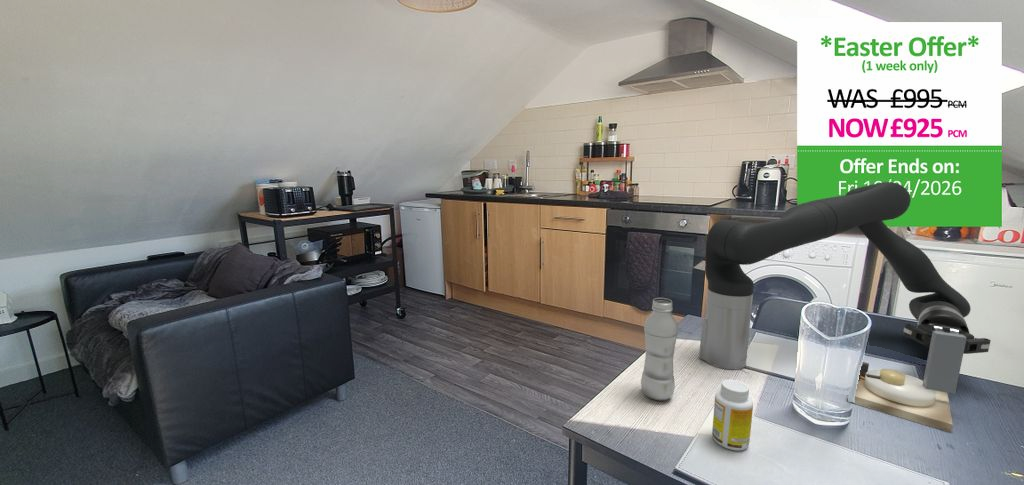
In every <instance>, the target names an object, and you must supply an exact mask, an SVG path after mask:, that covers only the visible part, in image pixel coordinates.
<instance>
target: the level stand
mask: <svg viewBox="0 0 1024 485" xmlns="http://www.w3.org/2000/svg"><path fill="white" fill-rule="evenodd" d="M861 363H862V364H861V365H862V366H861V370H860V375H859V380H858V384H857V389H856V395H855V404H854V405H858V406H860V407H865V408H868V409H870V410H871V409H872V410H874V411H879V412H881V413H885V414H888V415H891V416H895V417H897V418H901V419H904V420H908V421H910V422H911V421H912V422H915V423H918V424H921V425H924V426H928V427H931V428H934V429H937V430H941V431H945V432H947V433H952V430H953V425H954V424H953V418H952V413H951V406H950V400H949V395H948V394H949V393H947V392H941V391H936V397H935V402H934V404H933V405H931V406H925V407H920V406H911V405H906V404H901V403H897V402H894V401H891V400H888V399H886V398H883V397H881V396H879V395H877V394H875V393H873V392H872V391H870V390H869V389H868V388H867V387H866V386H865V384H864V382H865V376H866V372H868V371H869V366H870V363H868V362H865V361H863V362H861Z"/></svg>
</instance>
